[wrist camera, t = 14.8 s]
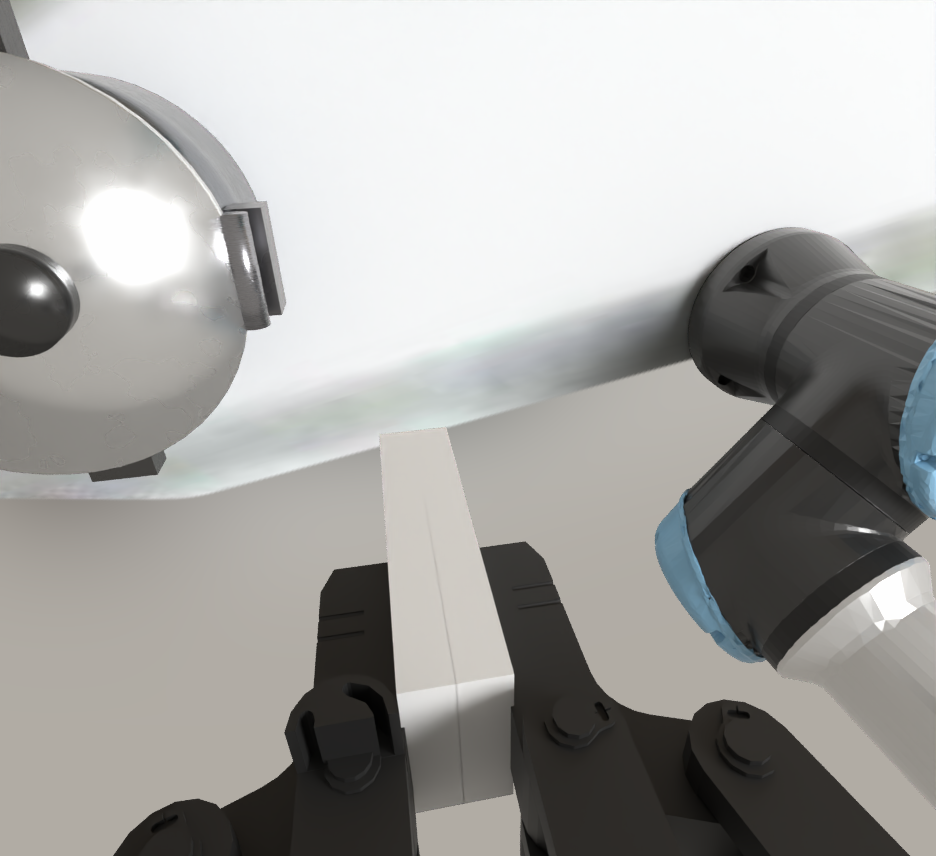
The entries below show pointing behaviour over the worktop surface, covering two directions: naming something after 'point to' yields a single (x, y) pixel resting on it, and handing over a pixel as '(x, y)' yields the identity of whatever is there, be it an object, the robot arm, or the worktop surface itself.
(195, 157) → the pot
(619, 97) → the worktop surface
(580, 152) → the worktop surface
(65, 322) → the lid
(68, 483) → the worktop surface
